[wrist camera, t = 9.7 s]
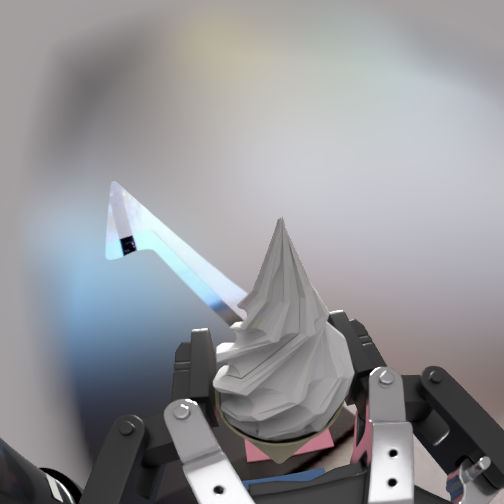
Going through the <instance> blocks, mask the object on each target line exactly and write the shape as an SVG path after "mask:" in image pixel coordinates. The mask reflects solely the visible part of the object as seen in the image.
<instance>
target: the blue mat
mask: <svg viewBox="0 0 504 504" xmlns="http://www.w3.org/2000/svg"><path fill="white" fill-rule="evenodd" d="M323 474H325V471H324V468H319V469H314V470H310V471H305V472H300V473H295V474H290V475H284V476H278V477H272V478H265V479H257V480H249V481H241V482H242V484H243V485H244V487H245V488H246V490H248V489H249V487H248V484H254V483H262V482H270V481H277V480H278V481H310V480H312V479H314V478H316V477H318V476H321V475H323Z"/></svg>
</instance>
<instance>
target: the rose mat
mask: <svg viewBox="0 0 504 504" xmlns="http://www.w3.org/2000/svg"><path fill="white" fill-rule="evenodd" d="M244 440H245V448H246V456H247V462H257V461H264V460H271V458H270V457H268V456H267V455H266V454H264V453H263V452H262V451H261V450H259V449H258V448H257V447H256V446H254V445H253V444H252V443H251V442H249V441H248V440H247V439H245V438H244ZM330 447H334V444H333V441H332V438H331V435H330V432H329V429H328V428H327V429H326V430H325V431H324V432H323V433H321V434H320V435H318V436H316V437H314V438H313V439H311V440H310V441H308V442H307V443H306V444H305V445H304V446H302V447H301V448H300V449H299V450H298V451H297V452H295V453H294V454H293V455H292V456H294V455H299V454H304V453H309V452H314V451H318V450H322V449H326V448H330Z"/></svg>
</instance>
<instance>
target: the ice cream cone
mask: <svg viewBox="0 0 504 504" xmlns="http://www.w3.org/2000/svg"><path fill="white" fill-rule="evenodd" d="M237 306H238V308H241V309H244V310H245V311H246V312H247V318H246V319H245V320H244V321H243V322H235V323H234V324H233V325H232V326H231V327H230V329H232V330H233V331H234V332H235V333H236V336H237V338H236V341H235V343H222V344H220V345H219V346H217V362H227V363H229V365H228V366H223V367H222V368H221V369H219V371H218V373H217V375H216V376H215V378H214V380H213V386H214V388H215V400H216V407H217V411H218V413H219V414H220V417H221V418H222V420H223V421H224V422H225V423H226V425H227V426H228V427H229V428H230V429H232V430H233V431H234V432H235V433H236V434H238V435H239V436H241V437H243V438H245V439H247V440H248V441H249V442H251V443H252V444H253V445H254V446H256V447H257V448H258V449H259V450H261V451H262V452H263V453H264V454H266V455H267V456H268V457H270V458H271V459H272V460H273V461H275V462H276V463H278V464H281V463H283V462H284V461H285V460H287V459H288V458H289V457H290V456H292V455H293V454H294V453H295V452H297V451H298V450H299V449H300V448H301V447H302V446H304V445H305V444H306V443H307V442H308V441H310V440H311V439H313V438H314V437H316V436H318V435H320V434H321V433H323V432H324V431H325V430H326V429H327V428H329V427H330V426H331V425H332V424H333V422H334V421H335V420H336V419H337V417H338V416H339V414H340V412H341V410H342V408H343V404H344V400H345V398H346V396H347V395H348V393H349V389H350V385H351V382H352V379H353V376H354V369H353V365H352V361H351V357H350V353H349V350H348V346H347V342H346V339H345V337H344V336H343V334H341V333H340V332H339V331H338V330H337V329H335V328H334V327H333V326H332V325H331V324H329V323H328V322H327V320H328V317H329V310H328V308H327V307H326V305H325V304H324V302H323V301H322V299H321V298H320V295H319V293H318V292H317V291H316V290H315V288H314V286H313V285H312V283H311V282H310V280H309V279H308V277H307V275H306V272H305V270H304V268H303V266H302V263H301V261H300V259H299V257H298V255H297V252H296V250H295V248H294V246H293V244H292V241H291V239H290V237H289V235H288V233H287V231H286V228H285V225H284V220H283V218H282V219H281V218H280V219H278V221H277V225H276V229H275V231H274V234H273V237H272V239H271V243H270V245H269V248H268V251H267V253H266V256H265V259H264V262H263V265H262V267H261V270H260V273H259V275H258V278H257V280H256V283H255V285H254V288H253V290H252V291H251V292H250V293H249V294H248V295H247V296H246V297H245V298H244V299H243V300H242V301H241V302H240V303H239V304H237Z"/></svg>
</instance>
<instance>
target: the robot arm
mask: <svg viewBox="0 0 504 504" xmlns="http://www.w3.org/2000/svg"><path fill="white" fill-rule="evenodd" d="M327 322H328V323H329V324H331V325H332V326H333V327H334V328H335V329H337V330H338V331H339V332H340V333H341V334H343V336H344V337H345V339H346V342H347V346H348V350H349V353H350V357H351V361H352V365H353V369H354V376H353V379H352V382H351V385H350V389H349V393H348V395H347V396H346V398H345V402H346V404H347V406H348V405H352V404H355V405H356V408H357V411H356V415H355V433H354V446H353V453H352V457H351V460H350V464H349V465H346V466H342V467H338V468H335V469H333V470H331V471H329V472H327V473H325V474H323V475H321V476H318V477H316V478H314V479H312V480H310V481H278V480H277V481H270V482H262V483H254V484H248V487H249V489H248V490H246V488H245V487H244V485H243V484H242V482H241V480H240V479H239V477H238V475H237V474H236V472H235V470H234V469H233V467H232V465H231V463H230V462H229V460H228V459H227V456H226V455H225V453H224V451H223V450H222V449H221V447H220V446H219V444H218V442H217V440H216V438H215V436H214V435H213V427H219V415H218V411H217V407H216V400H215V388H214V386H213V380H214V378H215V376H216V359H215V352H214V348H213V343H212V339H211V334H210V330H209V328H206V329H194V330H192V332H191V342H182V343H181V344H180V346H179V347H178V349H177V350H176V354H175V364H174V374H173V386H172V398H171V403H170V404H169V405H168V406H167V408H166V409H165V411H164V412H162V413H161V414H159V415H157V416H154V417H150V418H147V419H143V420H141V419H140V418H139V417H137V416H135V415H123V416H120V417H118V418H117V419H116V420H115V421H114V422H113V423H112V425H111V428H110V430H109V432H108V434H107V437H106V439H105V441H104V443H103V446H102V448H101V450H100V453H99V455H98V457H97V460H96V462H95V465H94V467H93V469H92V472H91V474H90V477H89V479H88V482H87V484H86V486H85V489H84V491H83V494H82V497H81V499H80V502H79V504H154V503H155V499H156V495H157V492H158V489H159V486H160V482H161V479H162V475H163V472H164V469H165V466H166V463H169V462H173V461H176V460H179V459H181V462H182V468H183V471H184V473H185V475H186V478H187V480H188V482H189V484H190V486H191V488H192V490H193V492H194V494H195V496H196V498H197V500H198V502H199V504H489V503H490V502H491V500H492V499H493V498H494V497H495V496H496V495H497V494H498V492H499V491H500V490H502V489H504V430H503V429H502V428H501V427H500V426H499V425H498V424H497V423H496V422H495V420H494V419H493V418H492V417H490V415H489V414H488V413H487V412H486V411H485V410H484V409H483V408H482V407H481V406H480V405H479V404H478V403H477V402H476V401H475V400H474V399H473V398H472V397H471V396H470V395H469V394H468V393H467V391H465V390H464V388H463V387H462V386H460V385H459V384H458V382H456V381H455V379H454V378H452V377H451V376H450V375H449V374H448V373H447V372H446V371H445V370H444V369H443V368H441V367H437V366H429V367H427V368H425V369H424V370H423V371H422V373H421V375H400V373H399V372H397V371H396V370H395V369H393V368H390V367H387V365H386V363H385V362H384V360H383V358H382V356H381V355H380V353H379V351H378V349H377V348H376V346H375V344H374V343H373V342H372V339H371V337H370V336H369V335H368V332H367V330H366V329H365V327H364V325H362V324H361V323H360V322H358V321H357V320H356V319H352V320H349V319H348V317H347V315H346V314H345V312H344V311H343V310H339V311H333V312H329V317H328V320H327ZM413 434H414V435H415V436H416V437H417V439H418V440H419V441H420V442H421V444H422V445H423V446H424V447H425V448H426V450H427V451H428V452H429V453H430V455H431V456H432V457H433V458H434V459H435V461H436V462H437V463H438V464H439V466H440V467H441V468H442V469H443V471H444V472H445V473H446V474H447V475H448V477H447V481H446V491H447V492H449V493H450V495H451V501H448V500H445V499H443V498H441V497H439V496H437V495H434V494H432V493H430V492H428V491H426V490H424V489H422V488H420V487H418V486H416V485H414V445H413ZM0 504H76V503H75V501H74V499H73V497H72V495H71V493H70V492H69V491H68V489H67V488H66V487H65V486H64V485H63V484H61V483H60V482H59V481H57V480H56V479H54V478H52V477H50V476H49V475H48V474H45V473H44V472H43V471H41V470H40V469H39V468H37V467H36V466H34V465H33V464H32V463H31V462H29V461H28V460H27V459H25V458H24V457H23V456H21V455H20V454H19V453H18V452H16V451H15V450H14V449H13V448H11V447H10V446H9V445H8V444H7V443H6V442H5V441H3V440H2V439H1V438H0Z"/></svg>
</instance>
